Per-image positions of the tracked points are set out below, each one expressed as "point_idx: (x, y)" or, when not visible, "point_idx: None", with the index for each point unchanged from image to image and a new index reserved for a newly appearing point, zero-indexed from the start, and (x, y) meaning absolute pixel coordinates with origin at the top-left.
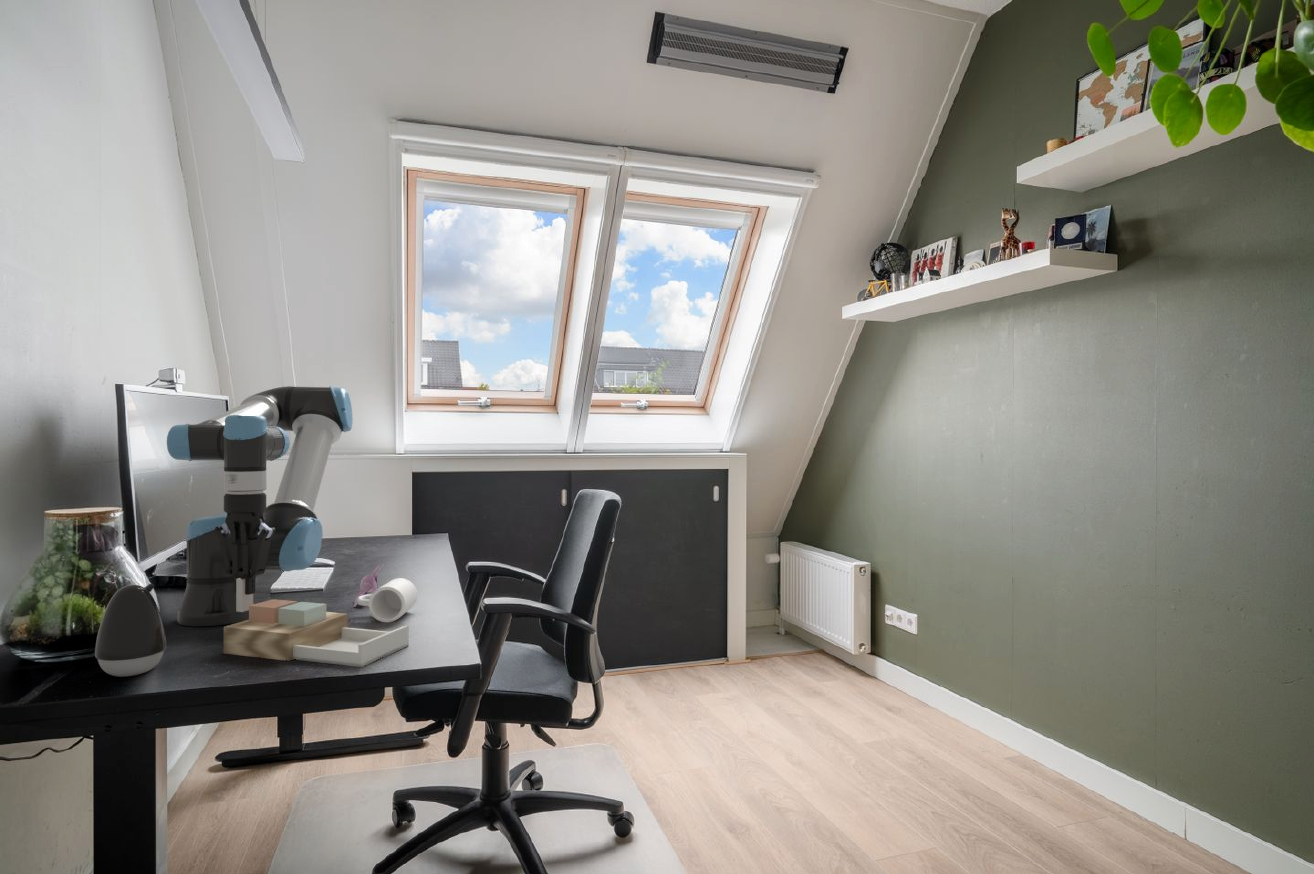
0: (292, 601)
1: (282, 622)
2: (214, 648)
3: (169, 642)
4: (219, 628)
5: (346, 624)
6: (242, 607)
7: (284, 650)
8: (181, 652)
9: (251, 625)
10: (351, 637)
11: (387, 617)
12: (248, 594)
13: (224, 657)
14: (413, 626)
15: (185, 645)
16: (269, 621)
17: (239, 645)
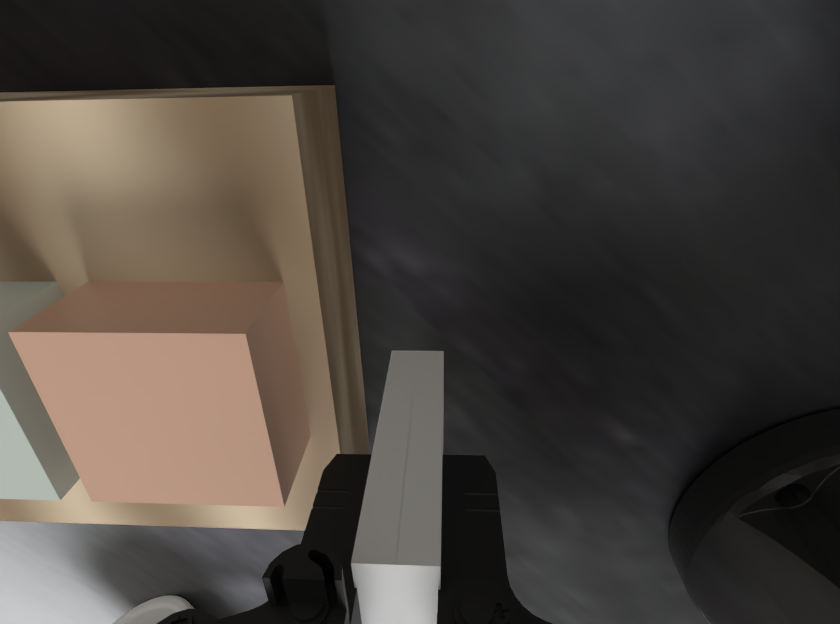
0: (114, 494)
1: (17, 286)
2: (463, 148)
3: (806, 158)
4: (705, 417)
5: None
6: (389, 370)
7: None
8: (584, 11)
9: (160, 198)
10: None
11: None
12: (341, 454)
13: (262, 21)
14: (42, 580)
15: (668, 140)
16: (118, 286)
17: (201, 90)
